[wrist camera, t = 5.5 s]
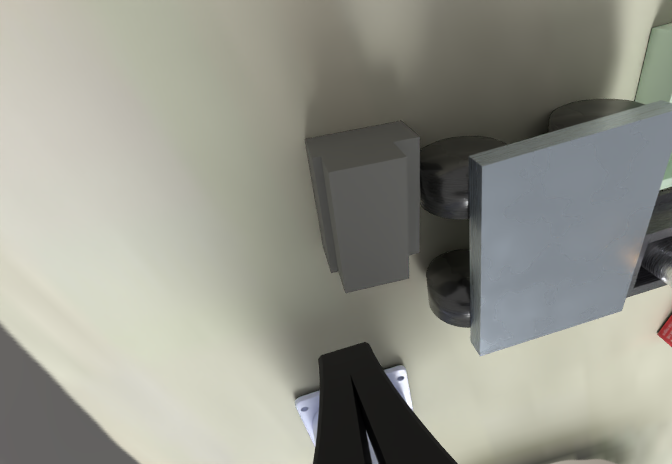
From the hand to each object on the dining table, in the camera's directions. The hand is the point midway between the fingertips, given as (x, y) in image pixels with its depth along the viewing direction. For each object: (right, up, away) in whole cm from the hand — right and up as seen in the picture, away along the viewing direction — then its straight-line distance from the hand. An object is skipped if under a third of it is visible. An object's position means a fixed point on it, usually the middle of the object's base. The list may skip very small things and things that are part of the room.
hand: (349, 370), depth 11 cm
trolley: (+9, +6, +11) cm, 15 cm away
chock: (+1, +6, +9) cm, 11 cm away
